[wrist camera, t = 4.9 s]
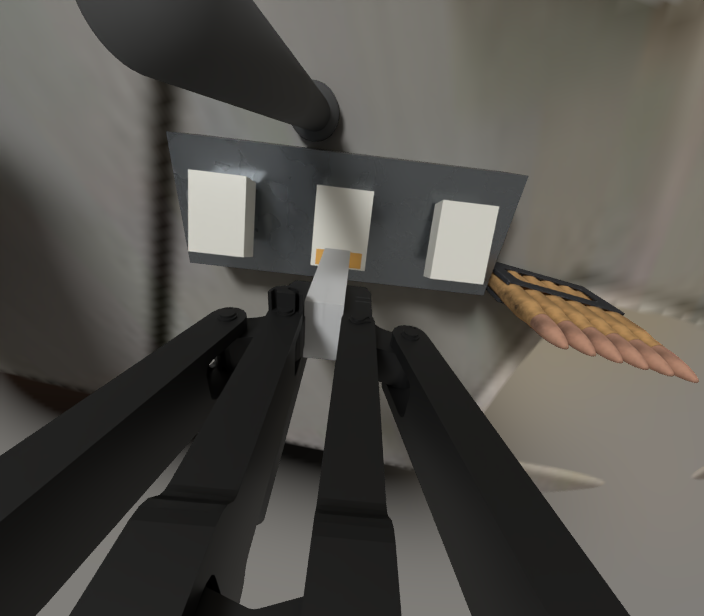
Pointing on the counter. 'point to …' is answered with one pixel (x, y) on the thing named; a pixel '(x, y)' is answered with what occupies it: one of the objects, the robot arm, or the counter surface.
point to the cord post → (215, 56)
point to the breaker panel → (354, 173)
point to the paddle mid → (342, 223)
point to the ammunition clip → (581, 321)
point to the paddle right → (460, 241)
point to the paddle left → (221, 213)
